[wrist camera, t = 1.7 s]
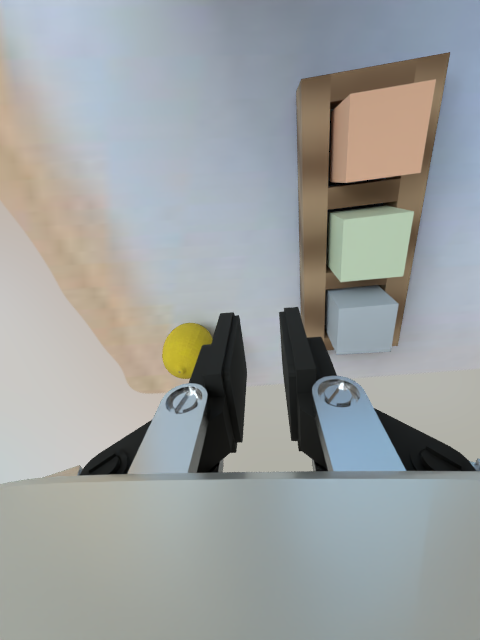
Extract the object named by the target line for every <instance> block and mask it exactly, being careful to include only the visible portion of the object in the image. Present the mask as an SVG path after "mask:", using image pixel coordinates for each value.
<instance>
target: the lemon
mask: <svg viewBox="0 0 480 640" xmlns="http://www.w3.org/2000/svg"><path fill="white" fill-rule="evenodd" d="M212 340H213V339H212V336H211V335H210V333H209V332H208V330H207V329H206V328H204V327H203V326H201V325H199V324H195V323H185V324H182V325H180V326H178V327H176V328H175V329H174V330H173V331H172V332H171V333H170V334H169V335H168V337H167V339H166V341H165V343H164V346H163V354H162V358H163V363H164V365H165V367H166V369H167V370H168V371H169V372H170V373H171V374H172V375H174V376H176V377H178V378H182V379H189V378H191V376H192V373H193V370H194V367H195V364H196V361H197V358H198V355H199V352H200V350H201V347H202V345H207V344H211V343H212Z"/></svg>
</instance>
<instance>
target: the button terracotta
mask: <svg viewBox="0 0 480 640" xmlns="http://www.w3.org/2000/svg"><path fill="white" fill-rule="evenodd" d="M435 83H436V79H434V80H429V81H423V82H417V83H411V84H405V85H399V86H393V87H388V88H382V89H376V90H370V91H364V92H358V93H352V94H350V95H349V96H348V97H347V98H345V99H344V100H343V101H342V102H341V103H340V104H339V105H338V106H337V107H336V108H335V109H334V110H333V111H332V112H331V147H330V182H339V183H348V182H356V181H363V180H371V179H378V178H386V177H393V176H401V175H408V174H416V173H421V167H422V161H423V155H424V149H425V143H426V137H427V131H428V125H429V119H430V113H431V107H432V101H433V95H434V89H435Z"/></svg>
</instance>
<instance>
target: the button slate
mask: <svg viewBox="0 0 480 640" xmlns="http://www.w3.org/2000/svg"><path fill="white" fill-rule="evenodd" d="M398 305H399V304H398V303H397V302H396V301H395V300H394V299H393V298H392V297H391V296H389V295H388V294H387V293H386V292H385V291H384V290H383V289H382V288H381V287H379V286H378V285H371V286H360V287H349V288H337V289H326V325H325V329H326V332H327V334H328V336H329V339H330V341H331V343H332V346H333V348H334V350H335V352H336V355H343V354H359V353H375V352H391V347H392V341H393V335H394V329H395V323H396V317H397V311H398Z"/></svg>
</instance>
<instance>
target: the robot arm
mask: <svg viewBox="0 0 480 640" xmlns="http://www.w3.org/2000/svg"><path fill="white" fill-rule="evenodd" d="M279 317H280V333H281V349H282V365H283V375H284V384H285V392H286V400H287V408H288V415H289V416H288V417H289V425H290V433H291V440H292V441H298V448H299V451H303V452H304V453H305V454H306V455H308V456H309V457H310V458H312V466H313V472H312V471H311V472H232V473H231V472H229V473H228V472H227V473H223V458H225V457H226V456H227V455H228V454H229V453H235V452H236V448H237V442H242V440H243V426H244V411H245V395H246V380H247V368H246V361H245V354H244V346H243V339H242V332H241V325H240V318H239V315H238V316H235V315H234V313H221V314H220V316H219V319H218V323H217V326H216V330H215V333H214V336H213V340H212V343H211V344H207V345H202V347H201V350H200V352H199V355H198V358H197V361H196V364H195V367H194V370H193V373H192V376H191V378H190V381H189V383H188V384H182V385H180V386H177V387H175V388H173V389H171V390H170V391H169V392H168V393H167V394H166V395H165V396H164V397H163V399H162V400H161V402H160V405H159V407H158V409H157V411H156V413H155V415H154V418H153V419H152V420H151V421H149V422H148V423H146V424H145V425H143V426H142V427H140V428H138V429H137V430H135V431H134V432H132V433H131V434H129V435H127V436H126V437H124V438H123V439H121V440H120V441H118V442H117V443H115V444H113V445H112V446H110V447H109V448H107V449H106V450H104V451H102V452H101V453H99V454H98V455H97V456H96V457H94V458H93V459H92V460H90V462H89V463H88V464H87V465H86V466H85V467H84V468H83V469H82V468H81V466H80V465H79V466H76V467H73V468H70V469H67V470H64V471H61V472H58V473H55V474H52V475H49V476H46V477H43V478H35V479H27V480H21V481H15V482H8V483H4V484H0V640H480V459H477V460H476V463H474V462H470V461H469V460H467V459H466V458H465V457H464V456H463V455H462V454H461V453H460V452H458V451H456V450H454V449H453V448H451V447H450V446H448V445H446V444H444V443H442V442H440V441H438V440H436V439H434V438H432V437H430V436H428V435H426V434H424V433H422V432H420V431H418V430H416V429H414V428H412V427H410V426H408V425H406V424H404V423H402V422H401V421H398V420H397V419H394V418H393V417H391V416H389V415H387V414H385V413H382V412H381V411H379V410H377V409H375V408H373V406H372V405H371V402H370V400H369V399H368V397H367V395H366V393H365V391H364V390H363V388H362V387H361V386H360V385H359V384H358V383H356V382H355V381H353V380H351V379H349V378H346V377H342V376H337V375H336V372H335V370H334V367H333V364H332V362H331V359H330V357H329V354H328V352H327V349H326V347H325V344H324V341H323V339H322V337H307V336H306V333H305V329H304V326H303V323H302V319H301V316H300V312H299V309H298V307H293V308H284V312H279Z"/></svg>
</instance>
